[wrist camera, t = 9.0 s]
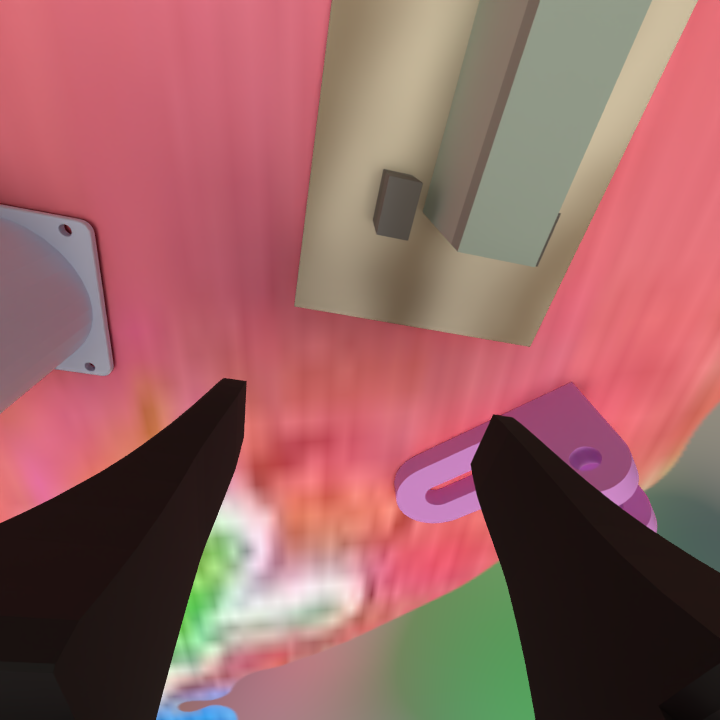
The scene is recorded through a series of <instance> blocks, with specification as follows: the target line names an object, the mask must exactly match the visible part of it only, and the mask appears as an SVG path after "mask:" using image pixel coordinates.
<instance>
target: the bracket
mask: <svg viewBox="0 0 720 720" xmlns="http://www.w3.org/2000/svg"><path fill="white" fill-rule="evenodd" d="M501 416H508V417H513V418H514V419H516V420H517V421H518V422H520V423H521V424H522V425H523V426H524V427H526V428H527V429H528V430H529V431H530V432H531V433H533V434H534V435H535V436H536V437H537V438H538V439H539V440H541V441H542V442H543V443H544V444H545V445H546V446H547V447H548V448H550V449H551V450H552V451H553V452H554V453H555V454H556V455H557V456H559V457H560V458H561V459H562V460H563V461H564V462H565V463H566V464H568V465H569V466H570V467H571V468H572V469H573V470H575V471H576V472H577V473H578V474H579V475H580V476H582V477H583V478H584V479H585V480H586V481H588V482H589V483H590V484H591V485H593V486H594V487H595V488H596V489H597V490H599V491H600V492H601V493H602V494H604V495H605V496H606V497H607V498H609V499H610V500H611V501H613V502H614V503H615V504H616V505H618V506H619V507H620V508H622V509H623V510H624V511H626V512H627V513H629V514H630V515H631V516H633V517H634V518H636V519H637V520H638V521H640V522H641V523H643V524H644V525H645V526H647V527H648V528H650V529H651V530H653V531H654V532H657V520H656V517H655V514H654V512H653V509H652V507H651V504H650V502H649V499H648V497H647V495H646V494H645V493H644V491H643V490H642V489H641V488H640V487H639V485H638V482H639V475H638V470H637V468H636V465H635V463H634V460H633V457H632V455H631V452H630V450H629V448H628V446H627V444H626V443H625V442H624V441H623V440H622V438H621V437H620V436H619V435H618V434H617V433H616V432H615V430H614V429H613V428H612V427H611V426H610V425H609V424H608V423H607V421H606V420H605V419H604V418H603V417H602V416H601V415H600V413H599V412H598V411H597V410H596V409H595V408H594V407H593V405H592V404H591V403H590V402H589V401H588V400H587V399H586V397H585V396H584V395H583V394H582V393H581V392H580V391H579V390H578V388H577V387H576V386H575V385H574V384H573V383H572V382H570V383H568V384H566V385H564V386H562V387H560V388H558V389H556V390H553V391H551V392H549V393H547V394H545V395H543V396H541V397H539V398H536V399H534V400H532V401H530V402H528V403H526V404H524V405H522V406H520V407H517V408H515V409H513V410H511V411H509V412H507V413H505V414H503V415H501ZM489 423H490V421H488V422H486V423H484V424H482V425H479V426H477V427H475V428H473V429H471V430H469V431H467V432H465V433H463V434H460V435H458V436H456V437H454V438H452V439H450V440H448V441H446V442H444V443H441V444H439V445H437V446H435V447H433V448H431V449H429V450H427V451H424V452H422V453H420V454H418V455H416V456H414V457H412V458H411V459H409V460H408V461H406V462H405V463H404V464H403V465H402V466H401V467H400V468H399V470H398V472H397V474H396V476H395V481H394V484H395V492H396V500H397V504H398V507H399V508H400V510H401V511H402V512H403V513H404V514H405V515H406V516H408V517H410V518H411V519H414V520H416V521H420V522H425V523H442V522H448V521H452V520H455V519H458V518H460V517H463V516H465V515H467V514H470V513H472V512H475V511H477V510H480V509H481V507H480V504H479V501H478V498H477V494H476V490H475V485H474V481H473V475H471V476H468V477H466V478H464V479H462V480H459V481H457V482H455V483H452V484H450V485H448V486H446V487H443V488H441V489H437V490H430V489H431V488H433V487H435V486H437V485H439V484H442V483H444V482H446V481H448V480H451V479H453V478H455V477H457V476H460V475H462V474H464V473H466V472H469V471H471V461H472V459H473V457H474V455H475V453H476V451H477V448H478V446H479V444H480V442H481V440H482V438H483V436H484V433H485V431H486V429H487V427H488V425H489Z"/></svg>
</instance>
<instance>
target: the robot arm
mask: <svg viewBox="0 0 720 720" xmlns="http://www.w3.org/2000/svg"><path fill="white" fill-rule="evenodd" d="M64 224H65V225H68V226H69V227H70V228H71V231H72V234H69V233H68V232H67V231H66V230H65V228H64ZM89 363H92V364H93V365H94V366H95V367H93V366H91V365H90V364H89ZM54 369H57V370H65V371H72V372H79V373H86V374H93V375H100V376H106V375H109V374H110V373H111V372H112V370H113V369H114V364H113V357H112V350H111V343H110V336H109V329H108V322H107V316H106V309H105V302H104V295H103V288H102V281H101V274H100V267H99V260H98V253H97V246H96V239H95V233H94V230H93V228H92V226H91V225H90V224H89V223H88V222H86V221H84V220H82V219H77V218H72V217H66V216H61V215H56V214H50V213H45V212H40V211H34V210H29V209H24V208H18V207H13V206H8V205H2V204H0V414H1V413H2V412H3V411H4V410H5V409H7V408H8V407H9V406H10V405H11V404H13V403H14V402H15V401H16V400H18V399H19V398H20V397H21V396H22V395H24V394H25V393H26V392H27V391H28V390H30V389H31V388H32V387H33V386H34V385H36V384H37V383H38V382H39V381H40V380H42V379H43V378H44V377H45V376H46V375H48V374H49V373H50V372H51V371H52V370H54ZM246 382H247V381H241V380H234V379H226V378H223V379H222V380H220V381H219V382H218V383H217V384H216V385H215V386H214V387H213V388H212V389H210V390H209V391H208V392H207V393H206V394H205V395H204V396H203V397H202V398H201V399H199V400H198V401H197V402H196V403H195V404H194V405H193V406H191V407H190V408H189V409H188V410H187V411H185V412H184V413H183V414H182V415H181V416H179V417H178V418H177V419H176V420H175V421H173V422H172V423H171V424H170V425H168V426H167V427H166V428H164V429H163V430H162V431H160V432H159V433H158V434H156V435H155V436H154V437H152V438H151V439H150V440H148V441H147V442H146V443H144V444H143V445H141V446H140V447H139V448H137V449H136V450H134V451H133V452H131V453H130V454H128V455H127V456H125V457H124V458H122V459H121V460H119V461H118V462H116V463H114V464H113V465H111V466H110V467H108V468H106V469H105V470H103V471H101V472H100V473H98V474H96V475H95V476H93V477H91V478H89V479H87V480H86V481H84V482H82V483H80V484H78V485H76V486H75V487H73V488H71V489H69V490H67V491H65V492H64V493H62V494H60V495H58V496H56V497H54V498H52V499H50V500H48V501H46V502H44V503H42V504H40V505H38V506H36V507H34V508H32V509H30V510H28V511H26V512H24V513H22V514H20V515H17V516H15V517H13V518H11V519H9V520H6V521H4V522H2V523H0V720H156V717H157V713H158V709H159V705H160V701H161V698H162V694H163V690H164V686H165V683H166V679H167V675H168V672H169V668H170V664H171V661H172V657H173V653H174V649H175V646H176V642H177V639H178V635H179V631H180V628H181V624H182V621H183V617H184V614H185V610H186V607H187V603H188V600H189V596H190V593H191V589H192V586H193V582H194V579H195V576H196V572H197V569H198V565H199V562H200V559H201V556H202V553H203V551H204V548H205V545H206V542H207V540H208V537H209V535H210V532H211V530H212V527H213V525H214V522H215V520H216V517H217V515H218V512H219V510H220V507H221V505H222V502H223V500H224V497H225V495H226V492H227V489H228V487H229V484H230V482H231V479H232V477H233V474H234V471H235V469H236V465H237V461H238V458H239V454H240V450H241V446H242V442H243V438H244V423H245V403H246ZM471 470H472V475H473V481H474V485H475V490H476V494H477V498H478V501H479V504H480V507H481V510H482V513H483V516H484V519H485V521H486V524H487V527H488V530H489V533H490V536H491V538H492V541H493V544H494V547H495V550H496V553H497V555H498V558H499V561H500V564H501V567H502V570H503V573H504V576H505V579H506V582H507V586H508V589H509V594H510V598H511V602H512V606H513V610H514V614H515V619H516V623H517V627H518V631H519V636H520V641H521V645H522V650H523V655H524V659H525V664H526V670H527V675H528V680H529V686H530V691H531V696H532V702H533V708H534V713H535V720H720V573H719V572H718V571H716V570H714V569H713V568H711V567H709V566H708V565H706V564H704V563H702V562H701V561H699V560H698V559H696V558H694V557H692V556H691V555H689V554H688V553H686V552H685V551H683V550H682V549H680V548H679V547H677V546H675V545H674V544H672V543H671V542H669V541H668V540H666V539H665V538H663V537H662V536H660V535H659V534H657V533H656V532H654V531H653V530H651V529H650V528H648V527H647V526H645V525H644V524H643V523H641V522H640V521H638V520H637V519H636V518H634V517H633V516H631V515H630V514H629V513H627V512H626V511H624V510H623V509H622V508H620V507H619V506H618V505H616V504H615V503H614V502H613V501H611V500H610V499H609V498H607V497H606V496H605V495H604V494H602V493H601V492H600V491H599V490H597V489H596V488H595V487H594V486H593V485H591V484H590V483H589V482H588V481H586V480H585V479H584V478H583V477H582V476H580V475H579V474H578V473H577V472H576V471H575V470H573V469H572V468H571V467H570V466H569V465H568V464H566V463H565V462H564V461H563V460H562V459H561V458H560V457H559V456H557V455H556V454H555V453H554V452H553V451H552V450H551V449H550V448H548V447H547V446H546V445H545V444H544V443H543V442H542V441H541V440H539V439H538V438H537V437H536V436H535V435H534V434H533V433H531V432H530V431H529V430H528V429H527V428H526V427H524V426H523V425H522V424H521V423H520V422H518V421H517V420H516V419H514V418H513V417H508V416H501V415H493V416H492V418H491V420H490V423H489V425H488V427H487V429H486V431H485V433H484V436H483V438H482V440H481V442H480V444H479V446H478V448H477V451H476V453H475V455H474V457H473V459H472V461H471Z"/></svg>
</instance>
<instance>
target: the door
mask: <svg viewBox="0 0 720 720" xmlns="http://www.w3.org/2000/svg"><path fill="white" fill-rule="evenodd" d="M651 2H652V0H480V1H479V4H478V8H477V12H476V15H475V19H474V23H473V27H472V30H471V34H470V38H469V41H468V45H467V49H466V53H465V56H464V60H463V64H462V67H461V71H460V75H459V79H458V82H457V86H456V90H455V93H454V97H453V101H452V105H451V108H450V112H449V116H448V119H447V123H446V127H445V131H444V134H443V138H442V142H441V145H440V149H439V153H438V157H437V160H436V164H435V168H434V172H433V175H432V179H431V183H430V186H429V190H428V194H427V198H426V201H425V205H424V209H423V213H424V214H425V215H426V217H427V218H428V219H429V220H430V221H431V222H432V223H433V224H434V226H435V227H436V228H437V229H438V230H439V231H440V232H441V234H442V235H443V236H444V237H445V238H446V239H447V240H448V242H449V243H450V244H451V245H452V246H453V247H454V248H455V249H456V251H457V252H461V253H466V254H471V255H476V256H481V257H486V258H491V259H496V260H501V261H506V262H511V263H516V264H521V265H526V266H531V267H535V266H536V264H537V261H538V259H539V257H540V254H541V252H542V250H543V248H544V245H545V243H546V241H547V238H548V236H549V234H550V232H551V229H552V227H553V225H554V223H555V220H556V218H557V216H558V213H559V211H560V209H561V207H562V204H563V202H564V200H565V198H566V195H567V193H568V191H569V188H570V186H571V184H572V182H573V179H574V177H575V175H576V172H577V170H578V168H579V166H580V163H581V161H582V159H583V157H584V154H585V152H586V150H587V147H588V145H589V143H590V141H591V138H592V136H593V134H594V131H595V129H596V127H597V125H598V122H599V120H600V118H601V116H602V113H603V111H604V109H605V106H606V104H607V102H608V100H609V97H610V95H611V93H612V91H613V88H614V86H615V84H616V81H617V79H618V77H619V75H620V72H621V70H622V68H623V65H624V63H625V61H626V59H627V56H628V54H629V52H630V50H631V47H632V45H633V43H634V40H635V38H636V36H637V34H638V31H639V29H640V27H641V25H642V22H643V20H644V18H645V15H646V13H647V11H648V9H649V6H650V4H651Z"/></svg>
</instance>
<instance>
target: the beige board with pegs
mask: <svg viewBox="0 0 720 720" xmlns="http://www.w3.org/2000/svg"><path fill="white" fill-rule="evenodd" d="M479 1H480V0H332V4H331V12H330V20H329V28H328V36H327V44H326V52H325V61H324V69H323V77H322V85H321V93H320V101H319V109H318V117H317V125H316V134H315V142H314V150H313V158H312V166H311V174H310V182H309V190H308V198H307V207H306V215H305V223H304V231H303V239H302V247H301V255H300V263H299V272H298V280H297V288H296V296H295V304H294V306H295V307H301V308H307V309H313V310H319V311H324V312H330V313H336V314H342V315H348V316H354V317H359V318H365V319H371V320H377V321H383V322H389V323H394V324H400V325H406V326H412V327H418V328H423V329H429V330H435V331H441V332H447V333H453V334H458V335H464V336H470V337H476V338H482V339H488V340H493V341H499V342H505V343H511V344H517V345H523V346H528V347H530V346H531V344H532V342H533V339H534V337H535V335H536V333H537V331H538V329H539V327H540V325H541V323H542V321H543V319H544V317H545V315H546V313H547V311H548V309H549V306H550V304H551V302H552V300H553V298H554V296H555V294H556V292H557V290H558V288H559V286H560V284H561V282H562V280H563V278H564V275H565V273H566V271H567V269H568V267H569V265H570V263H571V261H572V259H573V257H574V255H575V253H576V251H577V249H578V247H579V245H580V242H581V240H582V238H583V236H584V234H585V232H586V230H587V228H588V226H589V224H590V222H591V220H592V218H593V216H594V214H595V211H596V209H597V207H598V205H599V203H600V201H601V199H602V197H603V195H604V193H605V191H606V189H607V187H608V185H609V183H610V181H611V178H612V176H613V174H614V172H615V170H616V168H617V166H618V164H619V162H620V160H621V158H622V156H623V154H624V152H625V150H626V147H627V145H628V143H629V141H630V139H631V137H632V135H633V133H634V131H635V129H636V127H637V125H638V123H639V121H640V119H641V117H642V114H643V112H644V110H645V108H646V106H647V104H648V102H649V100H650V98H651V96H652V94H653V92H654V90H655V88H656V86H657V83H658V81H659V79H660V77H661V75H662V73H663V71H664V69H665V67H666V65H667V63H668V61H669V59H670V57H671V55H672V53H673V50H674V48H675V46H676V44H677V42H678V40H679V38H680V36H681V34H682V32H683V30H684V28H685V26H686V24H687V22H688V19H689V17H690V15H691V13H692V11H693V9H694V7H695V5H696V3H697V1H698V0H652V2H651V4H650V6H649V9H648V11H647V13H646V15H645V18H644V20H643V22H642V25H641V27H640V29H639V31H638V34H637V36H636V38H635V40H634V43H633V45H632V47H631V50H630V52H629V54H628V56H627V59H626V61H625V63H624V65H623V68H622V70H621V72H620V75H619V77H618V79H617V81H616V84H615V86H614V88H613V91H612V93H611V95H610V97H609V100H608V102H607V104H606V106H605V109H604V111H603V113H602V116H601V118H600V120H599V122H598V125H597V127H596V129H595V131H594V134H593V136H592V138H591V141H590V143H589V145H588V147H587V150H586V152H585V154H584V157H583V159H582V161H581V163H580V166H579V168H578V170H577V172H576V175H575V177H574V179H573V182H572V184H571V186H570V188H569V191H568V193H567V195H566V198H565V200H564V202H563V204H562V207H561V209H560V211H559V213H558V216H557V218H556V220H555V223H554V225H553V227H552V229H551V232H550V234H549V236H548V238H547V241H546V243H545V245H544V248H543V250H542V252H541V254H540V257H539V259H538V261H537V264H536V266H535V267H531V266H526V265H521V264H516V263H511V262H506V261H501V260H496V259H491V258H486V257H481V256H476V255H471V254H466V253H461V252H457V251H456V249H455V248H454V247H453V246H452V245H451V244H450V243H449V242H448V240H447V239H446V238H445V237H444V236H443V235H442V234H441V232H440V231H439V230H438V229H437V228H436V227H435V226H434V224H433V223H432V222H431V221H430V220H429V219H428V218H427V217H426V215H425V214H424V213H423V209H424V205H425V201H426V198H427V194H428V190H429V186H430V183H431V179H432V175H433V172H434V168H435V164H436V160H437V157H438V153H439V149H440V145H441V142H442V138H443V134H444V131H445V127H446V123H447V119H448V116H449V112H450V108H451V105H452V101H453V97H454V93H455V90H456V86H457V82H458V79H459V75H460V71H461V67H462V64H463V60H464V56H465V53H466V49H467V45H468V41H469V38H470V34H471V30H472V27H473V23H474V19H475V15H476V12H477V8H478V4H479Z"/></svg>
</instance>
